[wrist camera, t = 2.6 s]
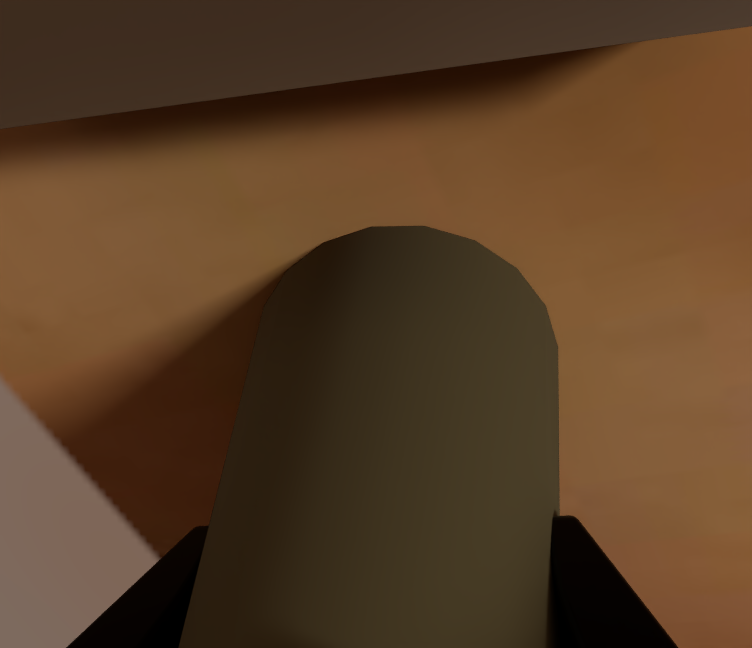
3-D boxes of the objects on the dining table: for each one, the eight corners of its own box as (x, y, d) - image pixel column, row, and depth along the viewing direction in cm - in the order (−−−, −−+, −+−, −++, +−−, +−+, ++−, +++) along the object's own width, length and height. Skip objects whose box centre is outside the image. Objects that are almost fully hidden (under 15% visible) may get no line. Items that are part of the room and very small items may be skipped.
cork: (254, 459, 15) (-100, 1362, 5) (257, 203, 12) (-541, 1229, 2) (522, 498, 15) (649, 1520, 5) (594, 248, 12) (1230, 1587, 2)
